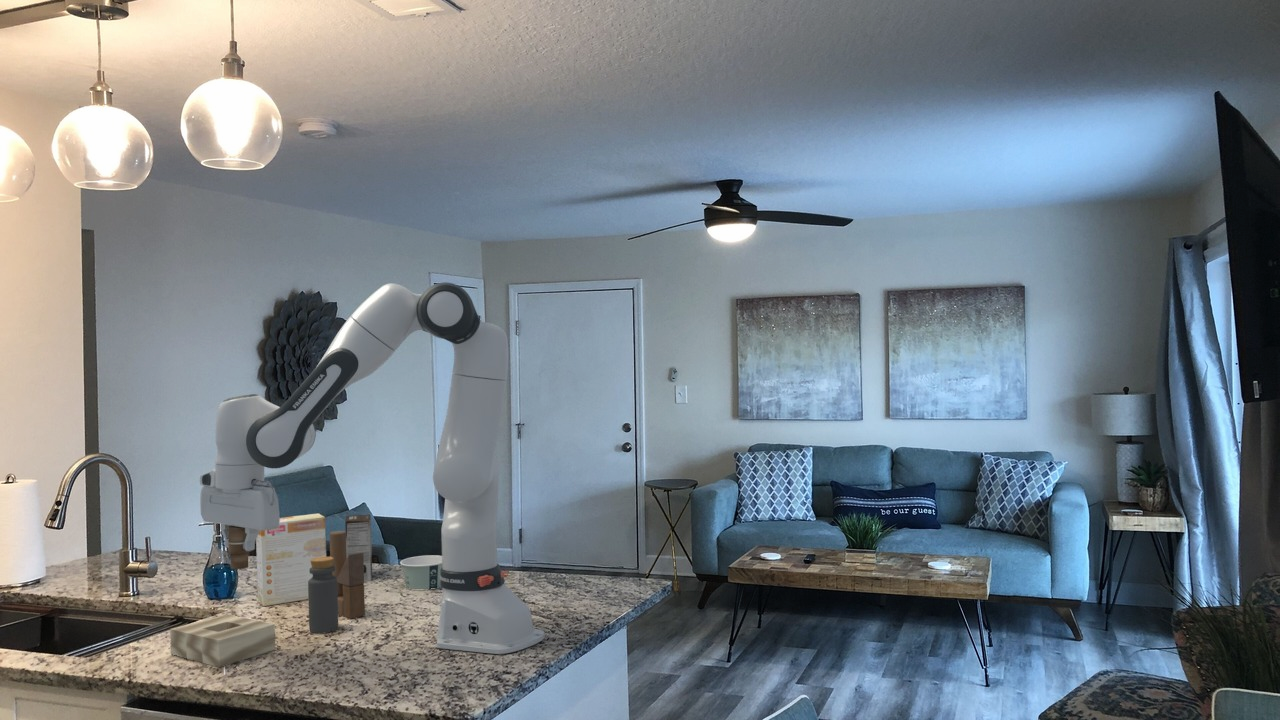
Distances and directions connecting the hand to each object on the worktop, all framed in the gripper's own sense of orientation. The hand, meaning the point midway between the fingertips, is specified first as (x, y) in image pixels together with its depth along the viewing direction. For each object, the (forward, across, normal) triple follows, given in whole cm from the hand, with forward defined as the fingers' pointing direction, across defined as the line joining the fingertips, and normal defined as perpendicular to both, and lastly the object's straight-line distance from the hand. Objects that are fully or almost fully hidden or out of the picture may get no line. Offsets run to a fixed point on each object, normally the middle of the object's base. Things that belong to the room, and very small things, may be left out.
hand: (239, 548), depth 183 cm
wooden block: (+20, +5, -30) cm, 37 cm away
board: (+21, +4, 0) cm, 21 cm away
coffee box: (+21, +30, -56) cm, 66 cm away
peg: (+4, 0, 0) cm, 4 cm away
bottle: (+20, -1, -19) cm, 28 cm away
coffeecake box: (+21, +28, -34) cm, 49 cm away
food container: (+20, +8, -58) cm, 61 cm away
